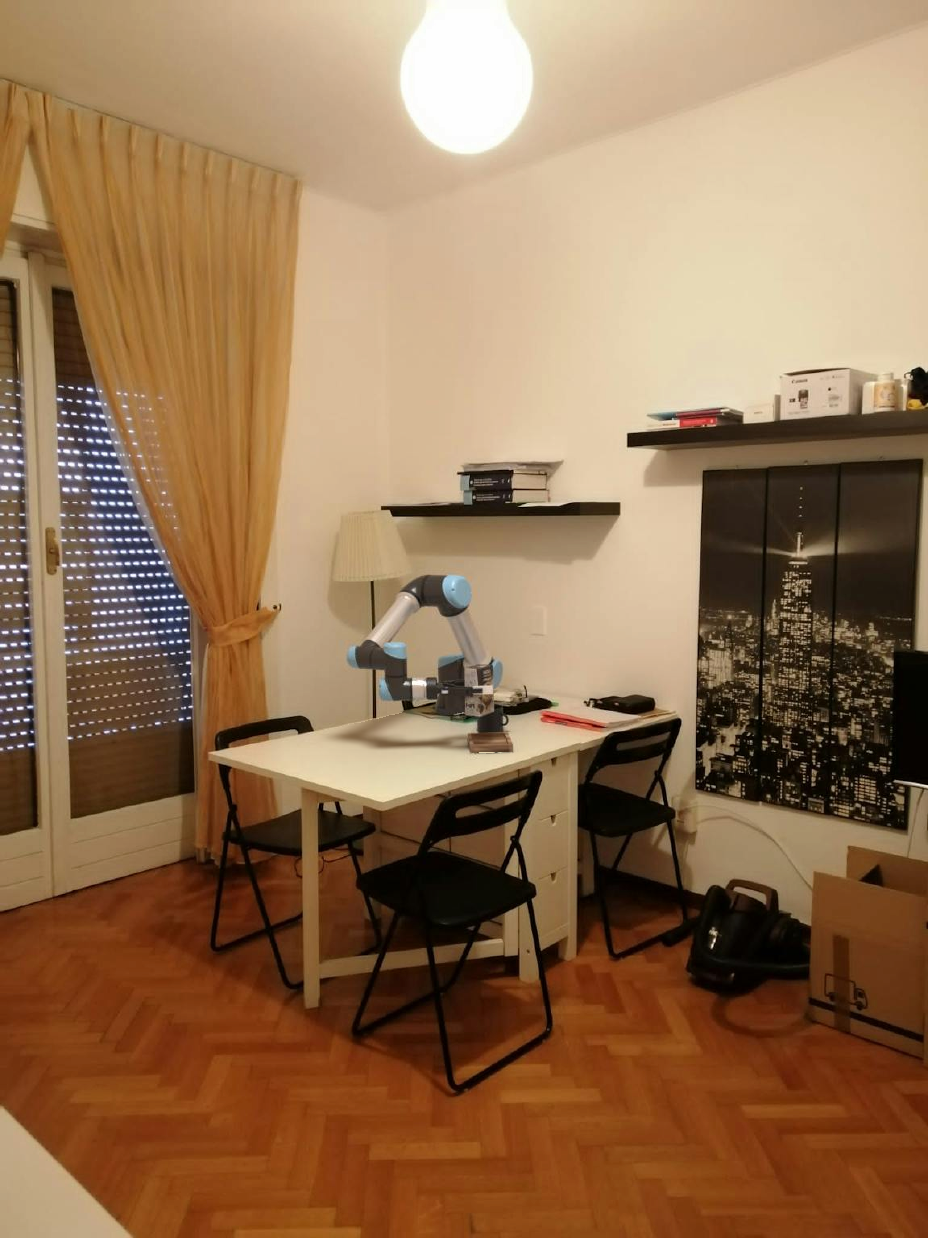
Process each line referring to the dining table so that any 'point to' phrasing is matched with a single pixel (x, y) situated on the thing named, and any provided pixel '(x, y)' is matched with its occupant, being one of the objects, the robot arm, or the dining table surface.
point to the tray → (490, 742)
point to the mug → (492, 721)
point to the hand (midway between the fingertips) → (491, 686)
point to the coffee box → (481, 702)
